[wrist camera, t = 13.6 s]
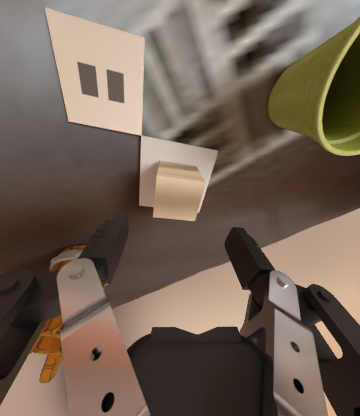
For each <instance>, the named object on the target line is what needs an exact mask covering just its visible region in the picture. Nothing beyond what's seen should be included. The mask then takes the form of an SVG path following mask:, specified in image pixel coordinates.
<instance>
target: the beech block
mask: <svg viewBox="0 0 360 416" xmlns="http://www.w3.org/2000/svg"><path fill="white" fill-rule="evenodd" d="M205 185H206V182H205V180H204V178H203V177H202V175H201V173H200V172H199V170H198V168H197V167H196V166H191V165H185V164H179V163H173V162H166V161H160V163H159V168H158V172H157V177H156V189H155V200H154V212H153V217H158V218H168V219H178V220H188V221H195V219H196V215H197V212H198V209H199V205H200V202H201V198H202V195H203V192H204V188H205Z"/></svg>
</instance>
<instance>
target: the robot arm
mask: <svg viewBox="0 0 360 416" xmlns="http://www.w3.org/2000/svg"><path fill="white" fill-rule="evenodd" d="M127 237H128V215H124V214H115V216H114V218H113V219H112V221H111V220H106V221H105V222H103V223H102V224H100V226H99V227H98V229H97V230H96V232H95V233H94V235H93V237H92V238H91V239H90V241H89V242H88V244H87V245H86V247H85V248H84V249H83V251H82V252H81V254H80V255H79V257H78V258H77V259H76V260H73V261H71V262H69V263H67V264H66V265H65V266H64V267H62V268H61V269H60V270H56V271H52V272H47V273H42V274H37V275H34V274H33V273H32V272H31V271H30V270H27V269H19V270H14V271H10V272H8V273H5V274H3V275H1V276H0V405H1V403H2V401H3V399H4V398H5V396H6V394H7V392H8V390H9V388H10V387H11V385H12V383H13V381H14V380H15V378H16V376H17V374H18V373H19V371H20V369H21V367H22V365H23V363H24V362H25V360H26V358H27V356H28V355H29V353H30V351H31V349H32V348H33V346H34V344H35V342H36V340H37V339H38V337H39V335H40V333H41V331H42V330H43V328H44V326H45V324H46V322H47V321H48V320H49V319H52V318H55V317H58V316H61V315H62V322H63V325H62V327H61V330H60V338H61V347H62V355H63V363H64V371H65V379H66V388H67V396H68V404H69V412H70V416H328V413H327V409H326V402H325V397H324V392H325V394H326V396H327V398H328V400H329V402H330V404H331V406H332V407H333V409H334V411H335V413H336V415H337V416H360V325H359V324H358V323H357V322H356V321H355V319H353V317H352V316H351V315H350V314H349V313H348V311H347V310H346V309H345V308H344V307H343V306H342V305H341V304H340V302H339V301H338V300H337V299H336V298H335V297H334V296H333V295H332V294H331V293H330V292H328V291H327V290H326V289H325V288H323V287H321V286H319V285H316V284H311V285H310V286H309V287H307V288H304V287H302V286H299V285H296V284H294V283H293V281H292V280H291V279H290V278H289V277H288V276H287V275H285V274H284V273H282V272H280V271H276V270H275V269H274V267H273V266H272V264H271V263H270V262H269V260H268V259H267V257H266V256H265V254H264V253H263V252H262V250H261V249H260V247H259V246H258V244H257V243H256V241H255V240H254V239H253V238H252V237H250V236H249V235H248V234H247V232H246V231H245V229H243V228H237V227H233V228H232V229H231V231H230V233H229V235H228V236H227V238H226V240H225V249H226V251H227V253H228V256H229V258H230V260H231V263H232V265H233V267H234V270H235V272H236V275H237V277H238V279H239V282H240V284H241V286H242V289H243V290H250V291H251V294H250V295H249V300H248V305H247V310H246V315H245V320H244V324H243V326H242V328H241V330H240V332H239V331H238V328H237V327H216V328H214V329H212V330H209V331H207V332H204V333H202V334H199V335H197V334H193V333H190V332H187V331H184V330H181V329H179V328H176V327H153V328H152V331H151V334H148V335H145V336H144V337H142V338H140V339H139V340H137V341H136V342H134V343H133V344H132V345H131V346H130V347H129V348H128V349H127V350H126V348H125V345H124V342H123V339H122V337H121V334H120V331H119V329H118V326H117V323H116V320H115V318H114V315H113V312H112V309H111V307H110V304H109V302H108V300H107V298H106V296H105V293H104V290H103V287H104V284H111V282H112V279H113V276H114V273H115V271H116V268H117V265H118V262H119V260H120V257H121V254H122V252H123V249H124V246H125V243H126V241H127ZM320 321H323V323H324V324H325V326H326V327H327V329H328V330H329V331H330V333H331V334H332V336H333V337H334V338H335V340H336V341H337V343H338V344H339V345H340V347H341V349H342V352H343V356H342V358H340V359H337V357H336V356H335V355H334V353H333V352H332V350H331V348H330V347H329V345H328V344H327V343H326V341H325V340H324V338H323V336H322V335H321V333H320V332H319V330H318V329H317V327H316V326H315V324H316V323H318V322H320ZM323 390H324V391H323Z"/></svg>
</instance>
